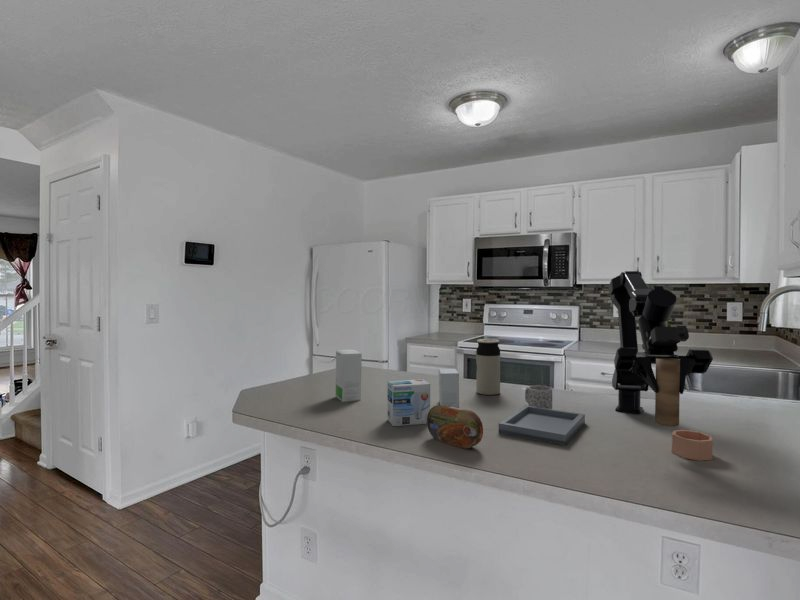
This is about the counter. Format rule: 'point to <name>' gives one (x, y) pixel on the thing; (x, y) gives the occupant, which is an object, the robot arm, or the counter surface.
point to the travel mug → (488, 367)
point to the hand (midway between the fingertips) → (669, 392)
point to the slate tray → (543, 424)
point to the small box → (449, 387)
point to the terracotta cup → (692, 445)
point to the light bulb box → (408, 402)
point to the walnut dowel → (667, 392)
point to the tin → (455, 426)
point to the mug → (539, 396)
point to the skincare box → (348, 375)
